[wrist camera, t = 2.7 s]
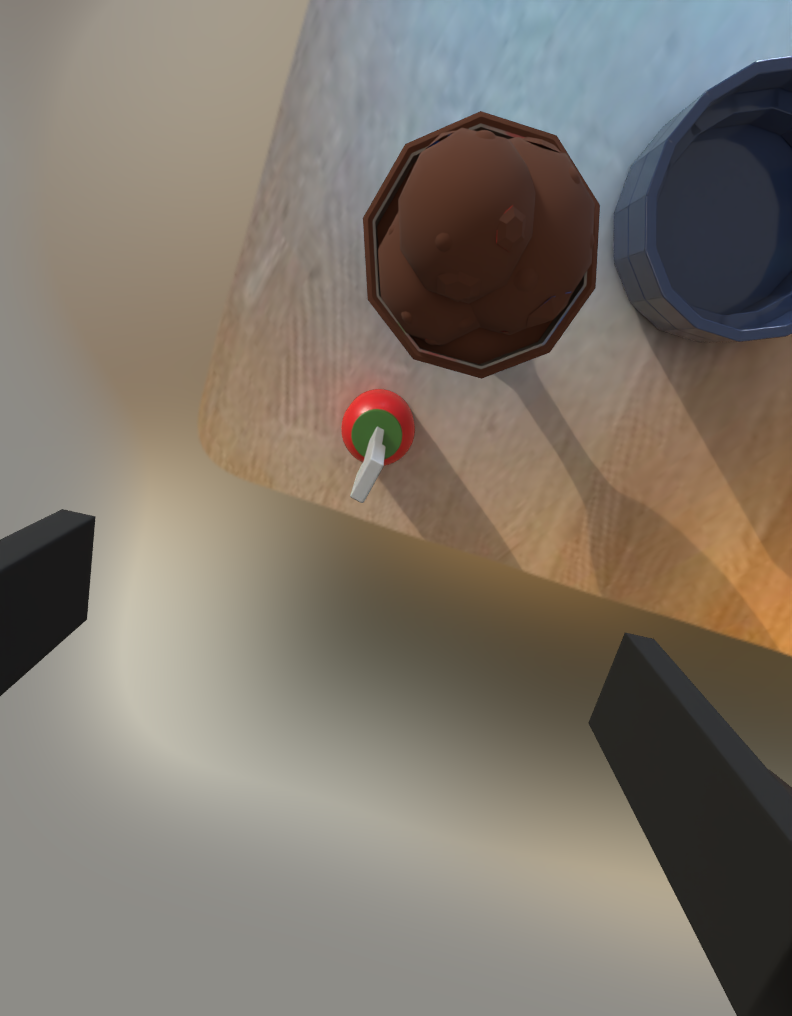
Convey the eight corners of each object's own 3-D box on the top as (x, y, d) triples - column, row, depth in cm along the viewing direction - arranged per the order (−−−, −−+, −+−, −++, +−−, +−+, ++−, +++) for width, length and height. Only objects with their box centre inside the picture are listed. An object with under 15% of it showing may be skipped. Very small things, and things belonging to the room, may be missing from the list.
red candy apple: (333, 437, 37) (288, 504, 21) (364, 376, 36) (340, 400, 20) (393, 469, 37) (390, 555, 22) (425, 410, 36) (447, 457, 21)
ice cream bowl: (379, 373, 36) (366, 393, 21) (368, 181, 32) (345, 51, 18) (541, 365, 35) (640, 380, 21) (546, 171, 32) (667, 32, 18)
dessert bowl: (609, 116, 31) (647, 75, 27) (842, 84, 31) (924, 37, 26) (609, 352, 35) (643, 353, 30) (817, 327, 35) (885, 324, 30)
